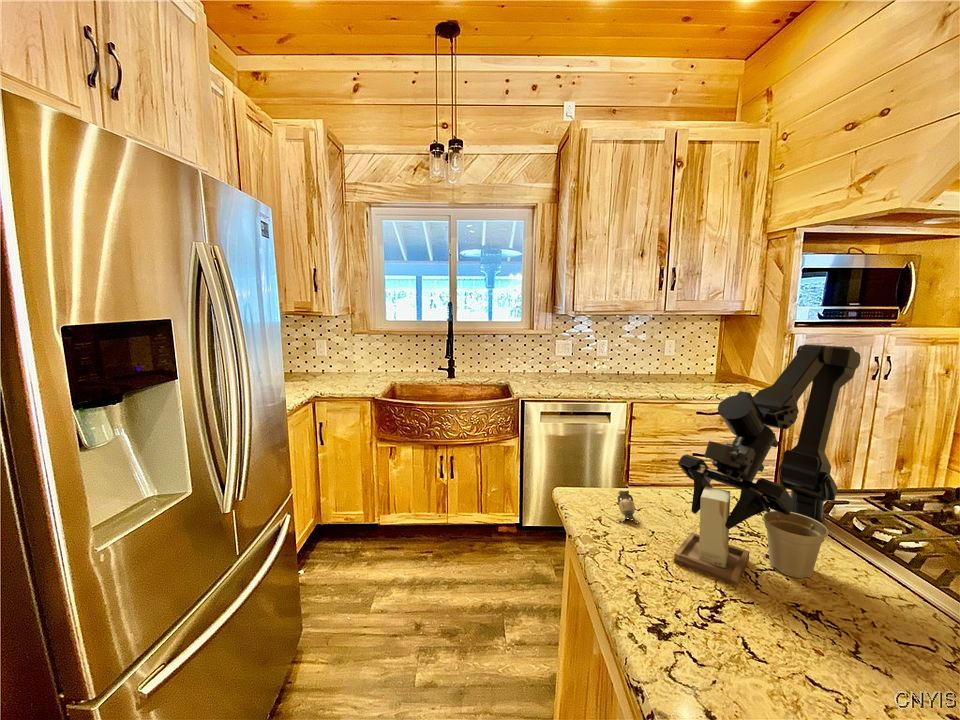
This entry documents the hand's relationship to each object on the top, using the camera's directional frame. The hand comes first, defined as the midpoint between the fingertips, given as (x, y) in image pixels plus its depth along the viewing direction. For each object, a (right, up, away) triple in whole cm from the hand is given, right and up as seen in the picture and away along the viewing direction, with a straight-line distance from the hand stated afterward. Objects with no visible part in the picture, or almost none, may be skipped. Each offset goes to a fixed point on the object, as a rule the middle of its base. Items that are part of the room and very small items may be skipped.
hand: (709, 519), depth 74 cm
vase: (-9, -7, +19) cm, 22 cm away
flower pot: (+14, -9, -1) cm, 17 cm away
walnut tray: (+1, -8, +2) cm, 9 cm away
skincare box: (+2, -8, +2) cm, 8 cm away
